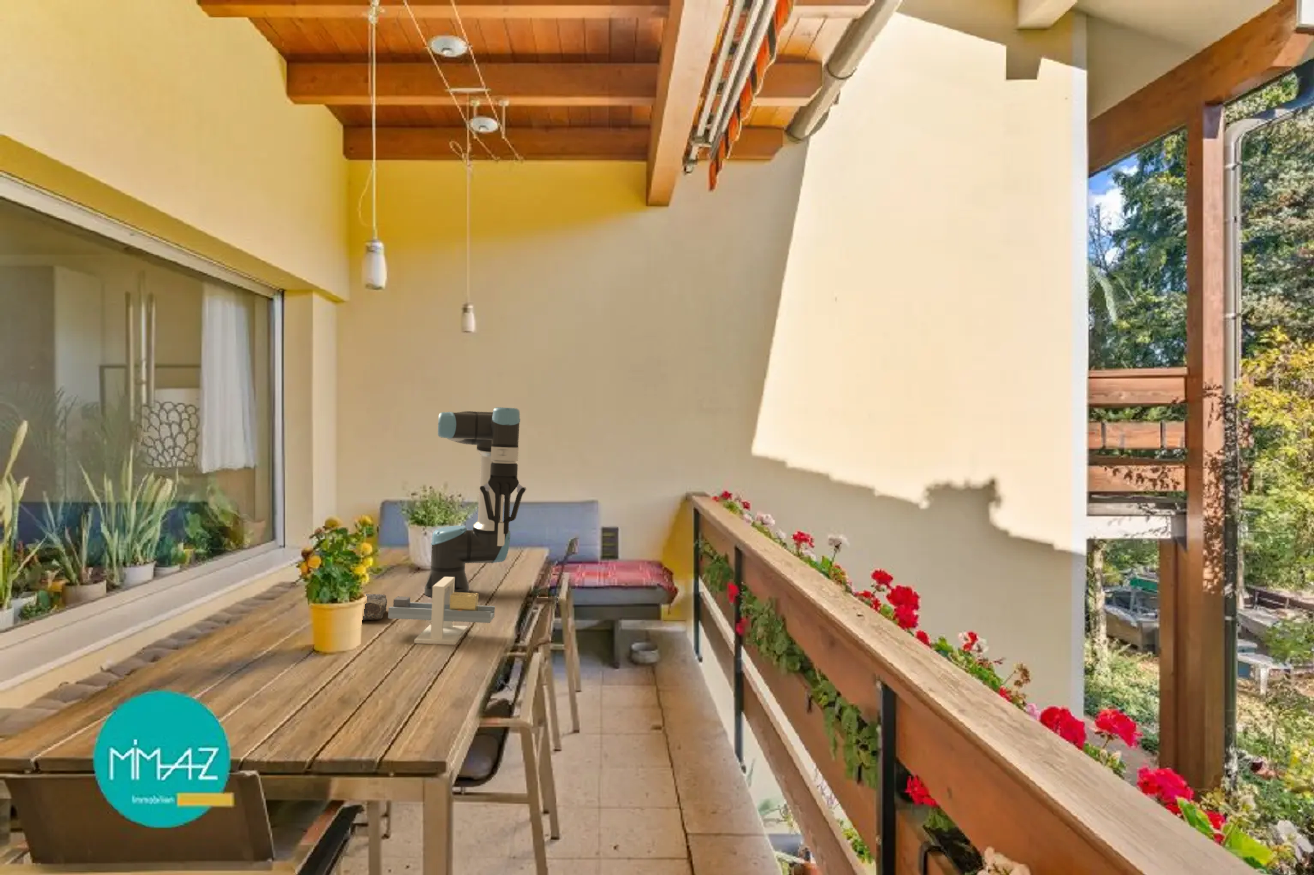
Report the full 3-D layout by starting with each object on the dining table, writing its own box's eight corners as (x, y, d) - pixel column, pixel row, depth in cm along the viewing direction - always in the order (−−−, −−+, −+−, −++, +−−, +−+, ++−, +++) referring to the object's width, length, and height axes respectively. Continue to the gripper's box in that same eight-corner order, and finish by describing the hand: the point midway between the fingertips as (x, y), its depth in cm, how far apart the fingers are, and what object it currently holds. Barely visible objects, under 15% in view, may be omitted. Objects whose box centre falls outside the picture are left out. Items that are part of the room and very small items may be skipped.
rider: (452, 611, 196) (453, 592, 196) (477, 612, 196) (478, 593, 196) (449, 614, 192) (450, 595, 192) (474, 615, 192) (475, 596, 192)
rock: (353, 610, 217) (336, 625, 202) (353, 589, 216) (336, 603, 202) (394, 609, 218) (380, 624, 203) (394, 589, 218) (380, 603, 203)
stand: (429, 628, 201) (431, 575, 200) (467, 629, 201) (469, 576, 201) (414, 643, 187) (416, 586, 186) (455, 644, 187) (457, 588, 187)
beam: (397, 611, 198) (398, 583, 197) (495, 615, 199) (496, 588, 198) (386, 619, 189) (388, 590, 189) (489, 623, 190) (490, 595, 190)
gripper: (478, 461, 190) (474, 546, 190) (525, 463, 190) (521, 548, 191) (483, 460, 197) (480, 542, 198) (529, 462, 198) (526, 543, 198)
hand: (500, 545), depth 194 cm, fingers closed
